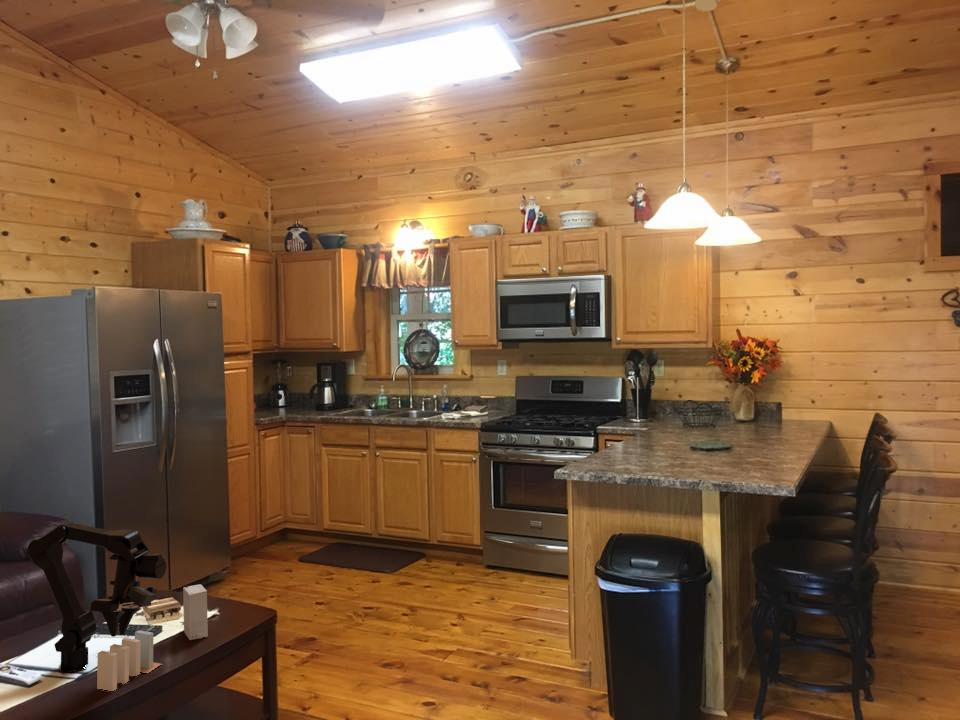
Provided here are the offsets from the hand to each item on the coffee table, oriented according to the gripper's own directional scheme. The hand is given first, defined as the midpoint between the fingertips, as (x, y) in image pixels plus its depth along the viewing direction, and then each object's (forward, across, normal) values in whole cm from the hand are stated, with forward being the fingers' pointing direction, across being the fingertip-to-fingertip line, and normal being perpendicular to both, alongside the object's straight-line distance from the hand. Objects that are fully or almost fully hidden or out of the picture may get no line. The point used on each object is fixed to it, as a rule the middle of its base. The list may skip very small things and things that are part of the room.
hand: (117, 635), depth 209 cm
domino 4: (+10, +12, -1) cm, 15 cm away
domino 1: (+14, -1, 0) cm, 14 cm away
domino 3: (+11, +8, 0) cm, 14 cm away
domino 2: (+12, +3, 0) cm, 13 cm away
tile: (+10, +12, -1) cm, 16 cm away
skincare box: (+4, +35, -2) cm, 35 cm away
